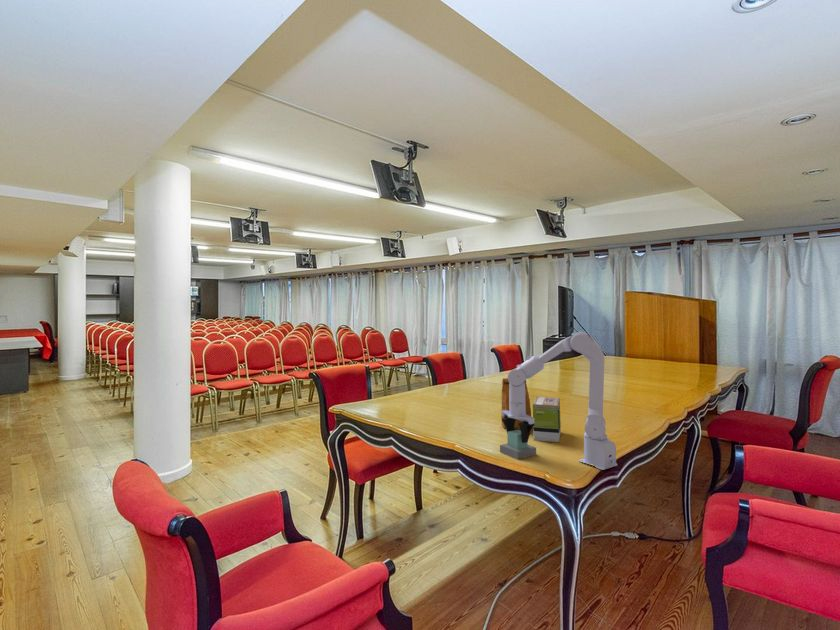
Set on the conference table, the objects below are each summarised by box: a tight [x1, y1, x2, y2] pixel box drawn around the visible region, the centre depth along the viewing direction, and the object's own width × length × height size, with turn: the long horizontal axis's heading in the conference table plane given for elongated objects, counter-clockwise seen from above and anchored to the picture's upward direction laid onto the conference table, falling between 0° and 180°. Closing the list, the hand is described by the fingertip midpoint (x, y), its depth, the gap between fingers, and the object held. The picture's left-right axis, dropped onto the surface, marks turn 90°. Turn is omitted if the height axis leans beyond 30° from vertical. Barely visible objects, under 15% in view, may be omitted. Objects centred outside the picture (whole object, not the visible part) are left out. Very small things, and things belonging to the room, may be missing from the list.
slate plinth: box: [499, 442, 537, 460], centre depth 148 cm, size 9×9×3 cm
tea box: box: [532, 396, 562, 443], centre depth 168 cm, size 15×10×15 cm, turn 159°
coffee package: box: [500, 377, 532, 430], centre depth 181 cm, size 10×12×22 cm
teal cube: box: [506, 429, 529, 449], centre depth 148 cm, size 5×5×5 cm
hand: (517, 439), depth 148 cm, fingers open, 7 cm apart
